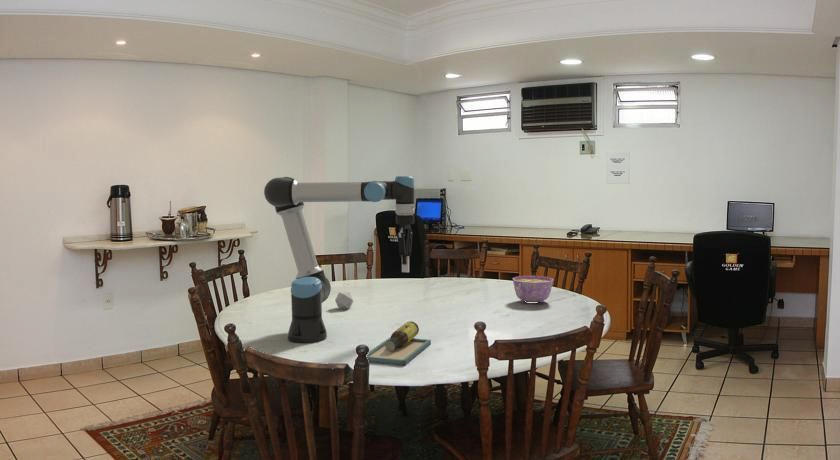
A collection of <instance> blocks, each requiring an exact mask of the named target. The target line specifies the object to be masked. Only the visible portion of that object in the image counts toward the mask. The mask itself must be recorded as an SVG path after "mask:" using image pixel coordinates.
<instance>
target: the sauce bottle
mask: <svg viewBox="0 0 840 460" xmlns="http://www.w3.org/2000/svg"><path fill="white" fill-rule="evenodd" d="M419 331H420V327H419V325H418V324H417V323H416V322H414V321H412V320H411V321H406V322H405V323H404V324H403V325H401V326H400V327H398V328H397V329H396V330H395V331H393V332H392V334H391V336H390V337H391V339H390V340H388V341H387V342H386V343H385V347H386V349H387V350H388V351H393V350H395V349H396V347H402V346H404V345H405V344H407V343H408V342H409V341H410V340H412V339H413V338H415V337H416V336H417V335H418V334H419Z"/></svg>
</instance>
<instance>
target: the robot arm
mask: <svg viewBox="0 0 840 460" xmlns="http://www.w3.org/2000/svg"><path fill="white" fill-rule="evenodd" d="M394 178H395V179H394V180H392V181H391V180H390V181H389V180H388V181H387V180H383V181H382V180H371V181H370V180H369V181H352V182H351V181H349V182H348V181H346V182H344V181H343V182H342V181H340V182H339V181H338V182H333V181H332V182H299V181H298V180H297V179H295V178H293V177H288V176H283V177H281V176H280V177H274V178H272V179H270V180H269V181H268V182H267V183H266V184H265V186H264V190H263V195H264V198H265V200H266V202H268V203H269V204H270V205H271V206H273V207H274V209H275V212H276V214H277V215H279V216H280V217H281V219H282V222H283V226H284V229H285V234H286V235H287V240H288V242H289V246H290V249H291V252H292V257H293V259H294V263H295V266H296V269H297V274H296V276H295V279H294V280H293V281H292V282H291V284H290V294H291V295H290V297H291V298H290V299H291V322H290V326H289V328H288V332H287V340H288V341H290V342H292V343H300V344H303V343H305V344H306V343H307V344H308V343H317V342H320V341H324V340H326V339H327V337H328V336H327V335H328V334H327V333H328V332H327V329H326V327H325V322H324V320H323V315H322V314H323V311H322V309H323V308H322V305H323V303H324V302H326V300H327V299H328V298H329V297H330V294H331V291H332V286H331V282H330V280H329V278H328V277H326V275H325V272H324V268H322V267H321V266H319V263H318V260H317V257H316V253H315V251H314V247H313V244H312V240H311V237H310V234H309V233H310V232H309V230H308V226H307V223H306V219H305V216H304V213H303V209H304V207H305V204H304V203H333V202H334V203H336V202H337V203H338V202H339V203H340V202H341V203H343V202H345V203H346V202H347V203H348V202H349V203H350V202H355V203H357V202H369V203H370V202H371V203H378V202H381V201H383V200H392V201H395V214H396V215H395V224H396V225H399V229H398V232H397V233H396V236H397V242H398V253H399V257H401V273H410V257H412V244H413V236H414V230H413V229H412V227H411V225H414V224H415V215H414V213H415V209H416V205H415V180H414V179H415V178H414V177H413V176H411V175H408V176H407V175H401V176H400V175H399V176H395V177H394Z"/></svg>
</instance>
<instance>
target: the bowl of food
mask: <svg viewBox="0 0 840 460" xmlns="http://www.w3.org/2000/svg"><path fill="white" fill-rule="evenodd" d="M512 283H513V288H514V291H515V295H516V297H517V298H518V299H520V300H521V301H523V302H524V301H526V302H541V303H542V302H545V301H546V300H547V299H548V298H549V297H550V294H551V291H552V287H553V283H554V278H552V277H549V276H541V275H518V276H514V277H512Z"/></svg>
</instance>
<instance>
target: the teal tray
mask: <svg viewBox="0 0 840 460" xmlns="http://www.w3.org/2000/svg"><path fill="white" fill-rule="evenodd" d="M390 339H391V336H389V338H387V339H386V340H384V341H383V342H381V343H379V344H378V345H376V346H375V347H374V348H372V349H370V350H369V351H368V352H369V354H368V355H367V358H368V360H369V362H368V363H372V364H379V365H380V364H381V365H391V366H392V365H393V366H401V367H402V366H403V367H405V366H407V365H408V364H409V363H410V362H412V361H413V360H414V359H415V358H416V357H418V356H419V355H420V354H421V353H422V352H424V351H425V350H426V349H427V348H428V347H429V346H430V345H431V344H432V342H431V341H432V340H431V339H425V338H415V337H414V338H413V339H412V340H410V341H409V342H408V343H407V344H405V345H404V346H402V347H396V349H395V350H393V351H388V350H387V349H386V347H385V343H386V342H387V341H388V340H390Z"/></svg>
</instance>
